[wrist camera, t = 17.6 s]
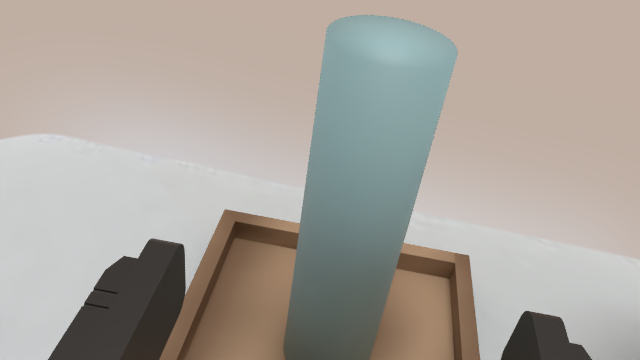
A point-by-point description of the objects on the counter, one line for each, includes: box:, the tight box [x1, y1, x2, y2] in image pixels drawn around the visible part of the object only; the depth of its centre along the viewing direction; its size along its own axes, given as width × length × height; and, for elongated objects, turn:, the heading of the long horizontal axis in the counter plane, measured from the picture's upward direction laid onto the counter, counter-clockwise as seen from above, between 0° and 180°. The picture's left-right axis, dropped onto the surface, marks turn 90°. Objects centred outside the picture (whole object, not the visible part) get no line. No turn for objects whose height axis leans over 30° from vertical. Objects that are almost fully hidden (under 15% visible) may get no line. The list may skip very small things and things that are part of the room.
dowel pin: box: [284, 15, 457, 360], centre depth 21 cm, size 4×4×15 cm
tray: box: [159, 209, 480, 360], centre depth 26 cm, size 14×14×2 cm
